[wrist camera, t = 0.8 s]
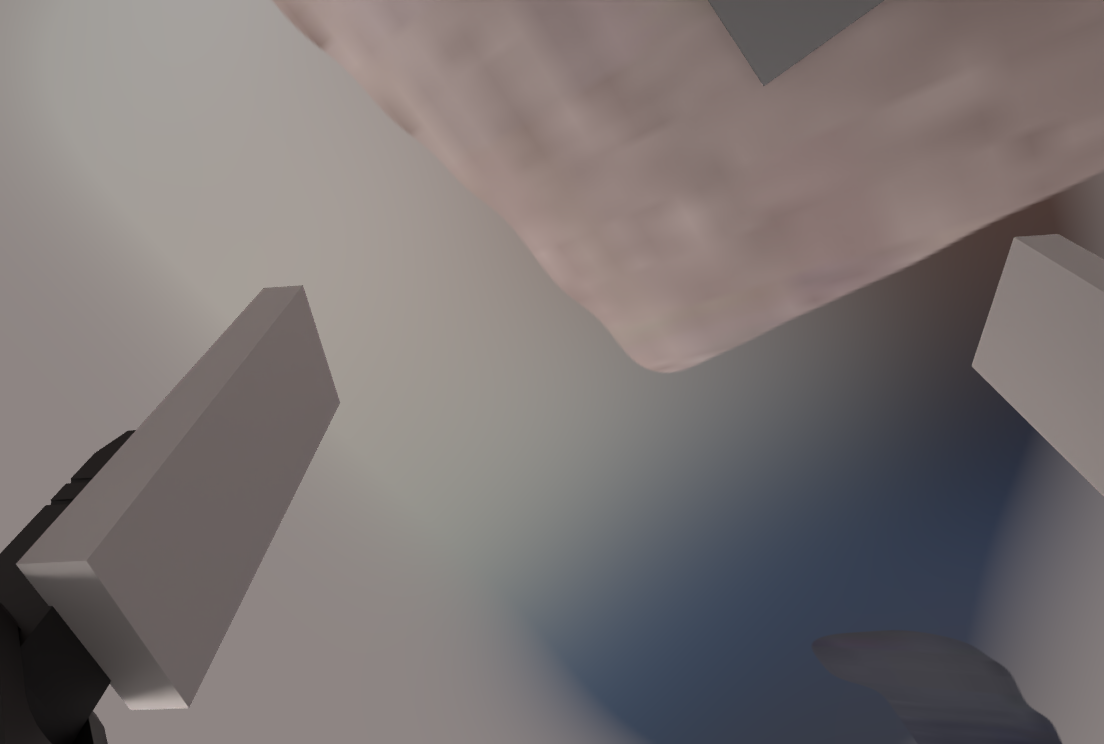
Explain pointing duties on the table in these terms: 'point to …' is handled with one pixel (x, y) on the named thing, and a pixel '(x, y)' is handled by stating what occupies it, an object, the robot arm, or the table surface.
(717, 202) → the table surface
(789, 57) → the mat
